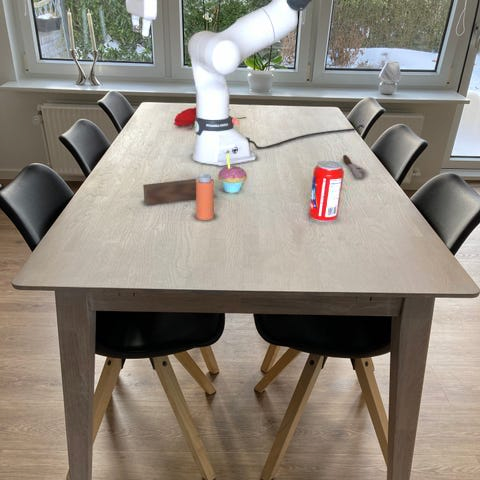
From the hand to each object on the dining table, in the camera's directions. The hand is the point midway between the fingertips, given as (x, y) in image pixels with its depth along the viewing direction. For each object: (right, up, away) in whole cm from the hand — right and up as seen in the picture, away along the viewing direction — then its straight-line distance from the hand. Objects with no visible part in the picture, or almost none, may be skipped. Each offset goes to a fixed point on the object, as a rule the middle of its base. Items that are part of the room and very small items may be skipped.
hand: (140, 34), depth 155 cm
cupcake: (+27, -45, +5) cm, 53 cm away
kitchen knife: (+69, -33, +26) cm, 81 cm away
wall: (+12, -49, -3) cm, 51 cm away
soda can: (+52, -57, -10) cm, 78 cm away
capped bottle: (+20, -56, -12) cm, 61 cm away
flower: (+17, -5, +64) cm, 66 cm away
